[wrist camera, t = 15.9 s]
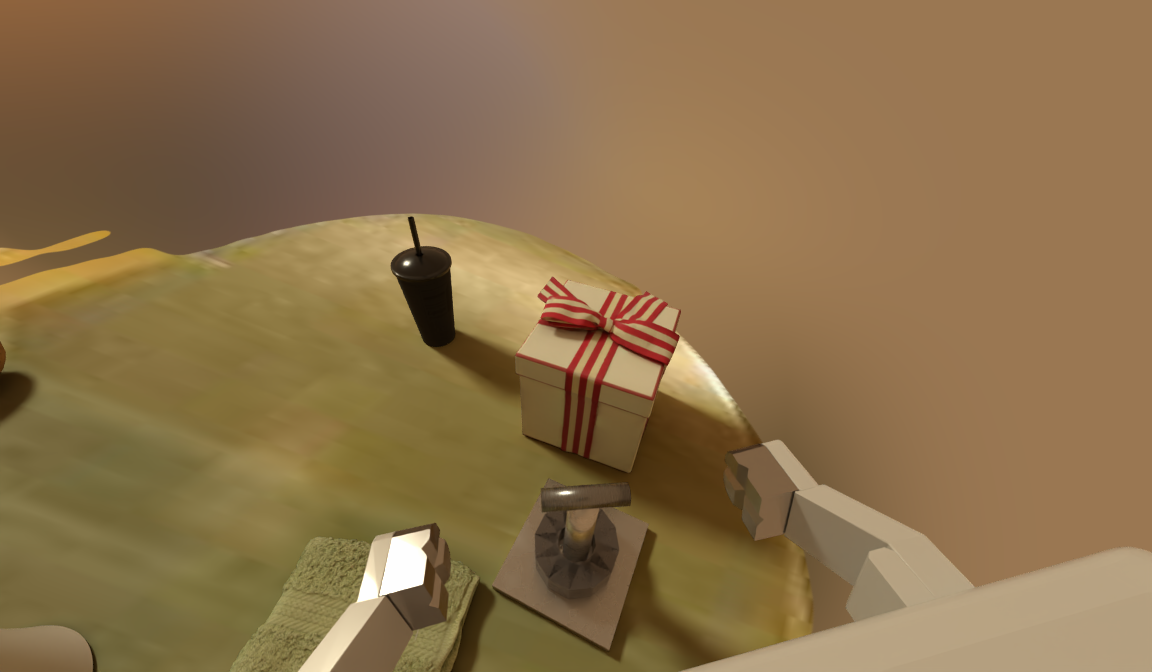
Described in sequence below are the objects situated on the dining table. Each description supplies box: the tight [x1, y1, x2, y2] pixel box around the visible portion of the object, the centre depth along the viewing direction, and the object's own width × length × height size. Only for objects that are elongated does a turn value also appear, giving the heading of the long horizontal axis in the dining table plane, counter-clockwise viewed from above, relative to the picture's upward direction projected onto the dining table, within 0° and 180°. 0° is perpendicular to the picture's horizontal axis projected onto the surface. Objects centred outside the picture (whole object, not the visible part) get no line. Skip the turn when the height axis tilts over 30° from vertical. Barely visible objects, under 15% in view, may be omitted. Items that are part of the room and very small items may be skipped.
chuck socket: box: [492, 479, 648, 652], centre depth 41 cm, size 12×12×4 cm
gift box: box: [515, 277, 681, 473], centre depth 51 cm, size 17×18×17 cm
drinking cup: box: [391, 217, 455, 347], centre depth 57 cm, size 8×8×20 cm
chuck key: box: [541, 482, 631, 563], centre depth 37 cm, size 7×3×14 cm, turn 96°
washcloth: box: [230, 537, 480, 672], centre depth 37 cm, size 13×18×3 cm
